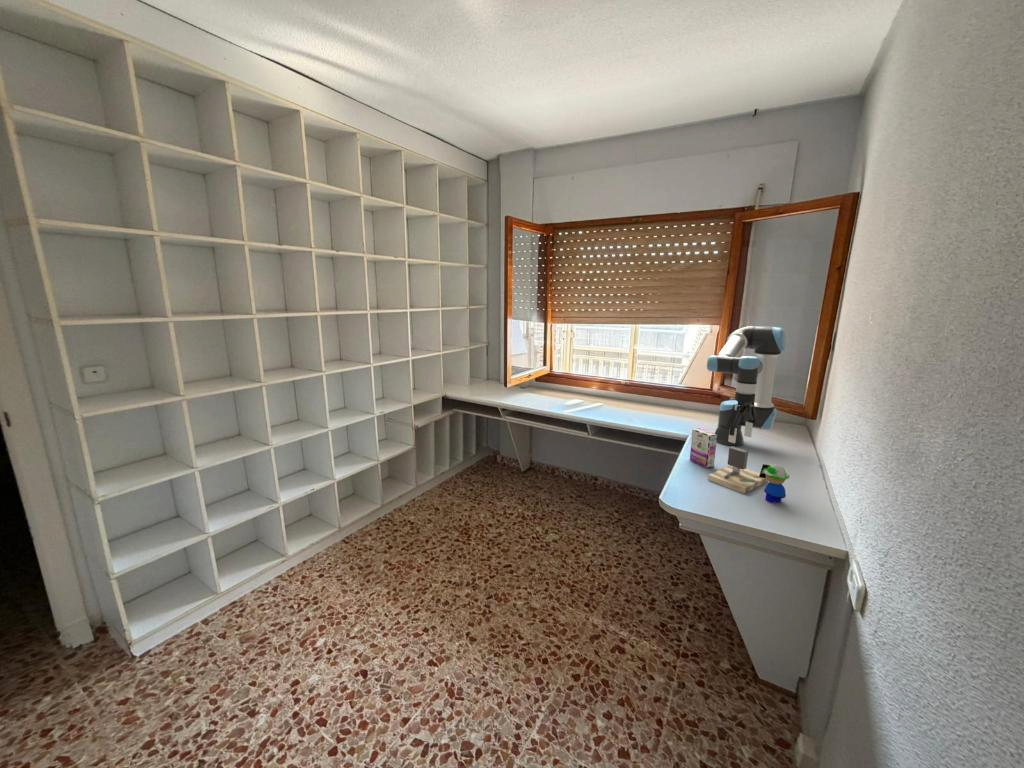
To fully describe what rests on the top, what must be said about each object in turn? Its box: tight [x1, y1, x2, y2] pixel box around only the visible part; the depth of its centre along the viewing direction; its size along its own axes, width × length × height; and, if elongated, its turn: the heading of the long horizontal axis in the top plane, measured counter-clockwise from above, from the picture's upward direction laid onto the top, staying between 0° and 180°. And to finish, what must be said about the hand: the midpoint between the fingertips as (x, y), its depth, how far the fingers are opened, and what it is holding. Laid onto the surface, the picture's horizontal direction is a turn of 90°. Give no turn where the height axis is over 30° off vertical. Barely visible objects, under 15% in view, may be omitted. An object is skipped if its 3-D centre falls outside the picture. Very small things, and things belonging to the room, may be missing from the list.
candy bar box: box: [689, 427, 717, 469], centre depth 199 cm, size 11×5×16 cm, turn 21°
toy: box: [759, 463, 790, 504], centre depth 164 cm, size 9×9×15 cm
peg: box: [724, 446, 749, 477], centre depth 181 cm, size 11×7×11 cm, turn 125°
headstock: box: [707, 465, 769, 494], centre depth 182 cm, size 20×16×3 cm
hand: (739, 439), depth 181 cm, fingers open, 13 cm apart
